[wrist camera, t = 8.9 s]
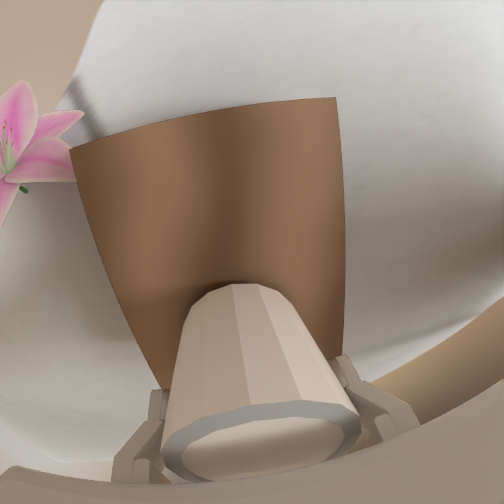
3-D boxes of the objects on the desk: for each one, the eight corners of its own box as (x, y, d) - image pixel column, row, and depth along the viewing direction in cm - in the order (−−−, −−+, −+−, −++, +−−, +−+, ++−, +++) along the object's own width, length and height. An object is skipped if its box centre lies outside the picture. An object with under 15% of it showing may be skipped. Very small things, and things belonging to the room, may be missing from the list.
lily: (132, 185, 21) (111, 128, 12) (21, 284, 18) (-52, 290, 9) (63, 86, 20) (33, 15, 10) (-33, 173, 17) (-95, 137, 7)
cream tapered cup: (146, 346, 14) (129, 470, 8) (223, 241, 12) (242, 373, 6) (253, 390, 17) (275, 496, 11) (336, 311, 15) (398, 421, 9)
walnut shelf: (284, 102, 19) (335, 97, 11) (305, 316, 27) (338, 392, 19) (124, 132, 18) (68, 149, 10) (184, 339, 26) (181, 422, 18)
